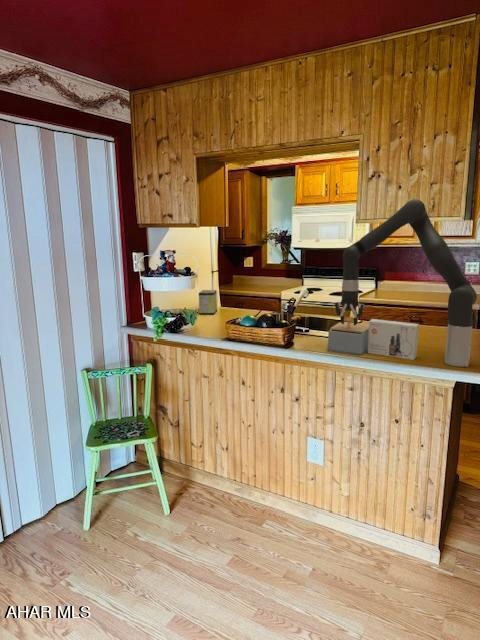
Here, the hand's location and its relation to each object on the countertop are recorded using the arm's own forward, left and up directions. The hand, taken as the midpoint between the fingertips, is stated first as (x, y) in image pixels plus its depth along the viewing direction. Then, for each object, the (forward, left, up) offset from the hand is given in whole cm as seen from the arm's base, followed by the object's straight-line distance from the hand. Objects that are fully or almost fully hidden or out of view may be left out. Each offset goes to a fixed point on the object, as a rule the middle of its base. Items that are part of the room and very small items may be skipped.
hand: (348, 324), depth 204 cm
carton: (0, -2, -13) cm, 13 cm away
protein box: (+115, -48, -13) cm, 125 cm away
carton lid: (0, -5, -3) cm, 6 cm away
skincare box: (-20, -1, -13) cm, 24 cm away
